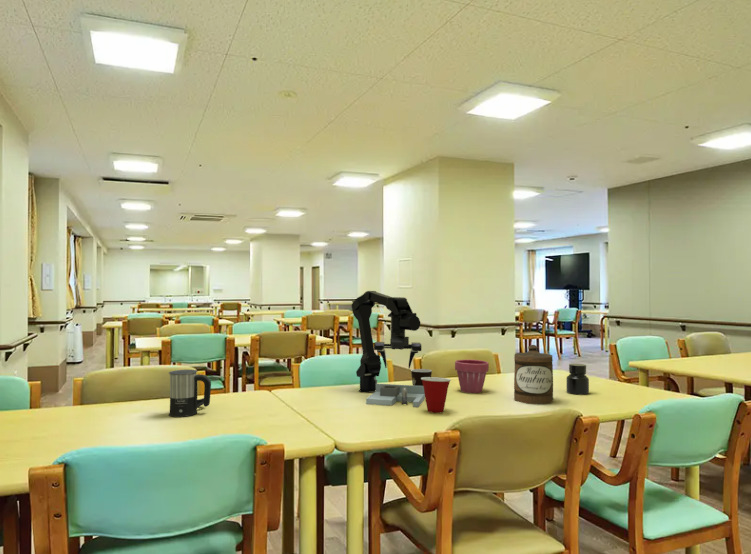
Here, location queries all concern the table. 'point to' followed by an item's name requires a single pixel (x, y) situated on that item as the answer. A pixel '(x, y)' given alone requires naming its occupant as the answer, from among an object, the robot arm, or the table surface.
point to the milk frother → (187, 392)
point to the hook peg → (404, 395)
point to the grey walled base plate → (413, 395)
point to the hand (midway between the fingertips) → (397, 368)
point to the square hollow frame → (390, 390)
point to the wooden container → (533, 377)
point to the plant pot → (471, 374)
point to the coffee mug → (419, 376)
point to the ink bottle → (577, 379)
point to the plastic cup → (435, 393)
